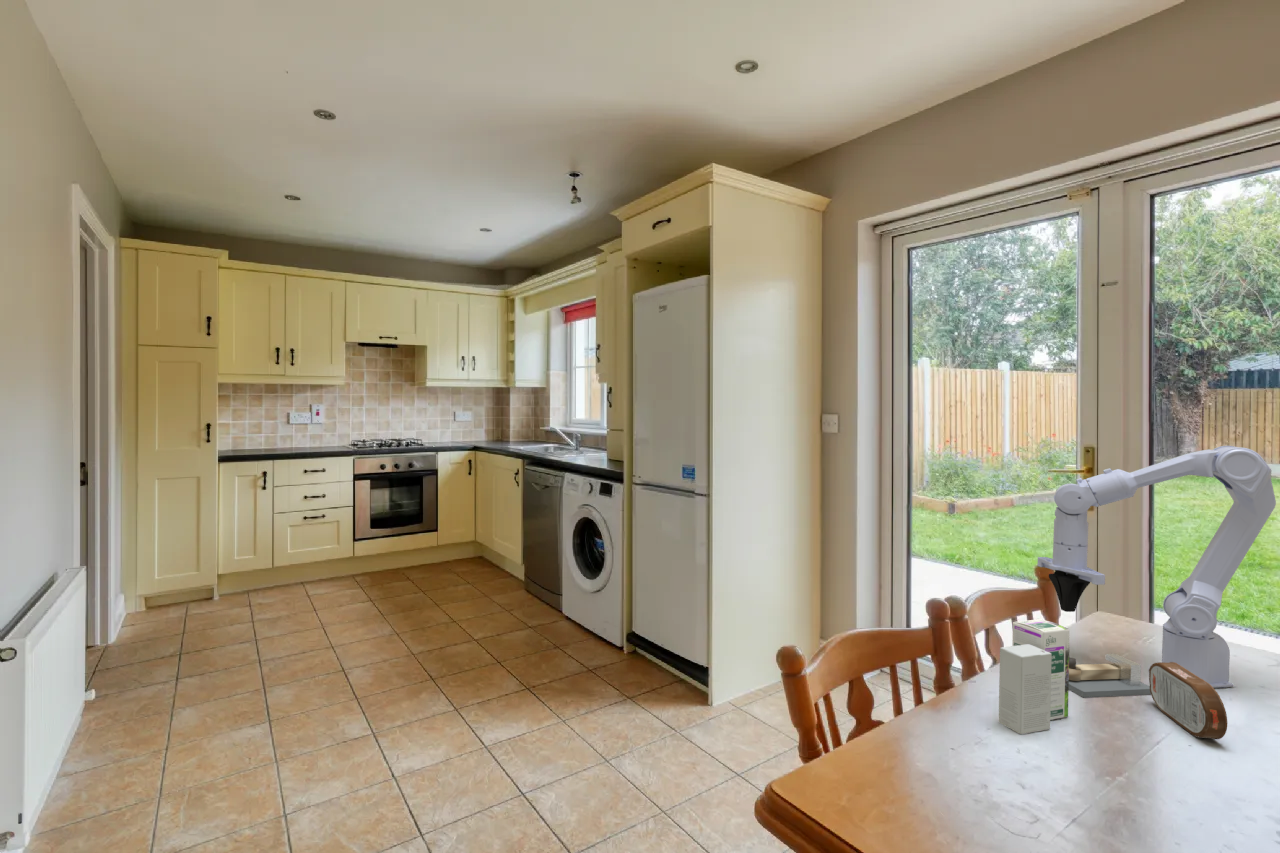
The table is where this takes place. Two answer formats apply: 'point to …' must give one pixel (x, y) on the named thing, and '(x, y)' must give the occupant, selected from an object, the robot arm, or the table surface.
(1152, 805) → the table surface
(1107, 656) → the steel keeper
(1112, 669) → the beech link
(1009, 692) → the skincare box
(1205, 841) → the table surface
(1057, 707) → the syrup box
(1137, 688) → the slate board
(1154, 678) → the tin
